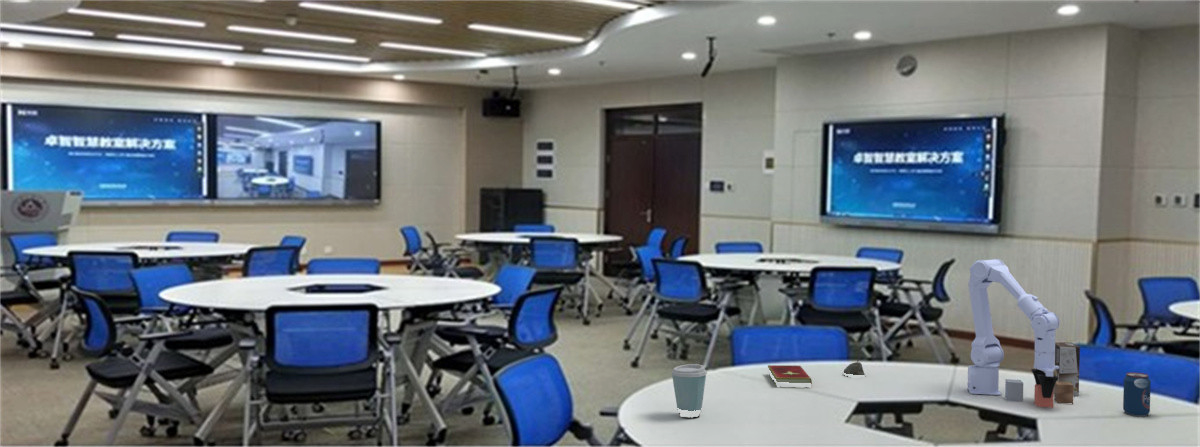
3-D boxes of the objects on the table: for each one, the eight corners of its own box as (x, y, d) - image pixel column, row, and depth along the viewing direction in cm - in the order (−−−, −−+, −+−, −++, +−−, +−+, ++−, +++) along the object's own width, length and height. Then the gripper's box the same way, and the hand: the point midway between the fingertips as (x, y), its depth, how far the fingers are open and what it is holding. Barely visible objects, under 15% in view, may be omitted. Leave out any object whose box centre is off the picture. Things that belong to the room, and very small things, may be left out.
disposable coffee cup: (683, 422, 266) (683, 371, 265) (664, 414, 275) (664, 364, 275) (713, 417, 271) (713, 367, 270) (693, 409, 280) (693, 361, 279)
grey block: (1007, 400, 290) (1008, 382, 290) (1005, 397, 295) (1005, 379, 295) (1023, 401, 289) (1023, 382, 289) (1020, 398, 294) (1020, 379, 293)
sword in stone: (838, 373, 333) (839, 340, 333) (859, 373, 334) (860, 341, 333) (848, 379, 323) (849, 345, 323) (869, 379, 324) (871, 346, 323)
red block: (1037, 406, 283) (1037, 387, 283) (1034, 403, 287) (1034, 384, 287) (1053, 407, 282) (1053, 388, 281) (1049, 404, 286) (1050, 385, 286)
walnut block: (1057, 403, 287) (1057, 384, 287) (1054, 400, 291) (1054, 381, 291) (1073, 404, 286) (1073, 385, 285) (1069, 400, 290) (1069, 382, 290)
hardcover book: (801, 376, 330) (801, 364, 329) (811, 389, 309) (811, 377, 308) (767, 376, 330) (767, 364, 330) (776, 389, 309) (776, 377, 309)
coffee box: (1079, 396, 296) (1080, 346, 295) (1058, 395, 297) (1059, 346, 297) (1071, 389, 305) (1072, 342, 304) (1050, 389, 306) (1051, 341, 306)
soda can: (1149, 418, 269) (1150, 377, 268) (1122, 414, 272) (1123, 375, 272) (1149, 412, 275) (1151, 373, 274) (1123, 410, 278) (1124, 371, 278)
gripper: (1064, 356, 276) (1063, 400, 276) (1053, 348, 290) (1052, 390, 290) (1039, 355, 277) (1038, 399, 278) (1029, 347, 291) (1028, 389, 292)
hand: (1044, 394), depth 284 cm, fingers open, 7 cm apart
